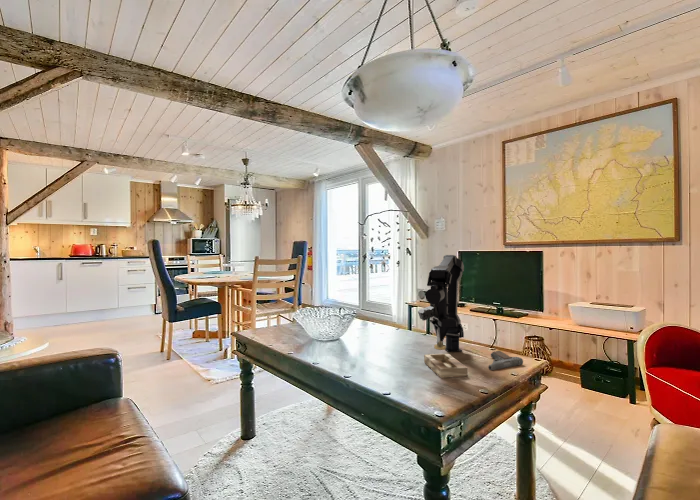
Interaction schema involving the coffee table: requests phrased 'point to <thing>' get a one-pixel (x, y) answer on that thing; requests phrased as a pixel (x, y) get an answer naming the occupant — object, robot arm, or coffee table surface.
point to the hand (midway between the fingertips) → (440, 340)
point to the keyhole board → (445, 365)
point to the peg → (439, 343)
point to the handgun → (503, 361)
